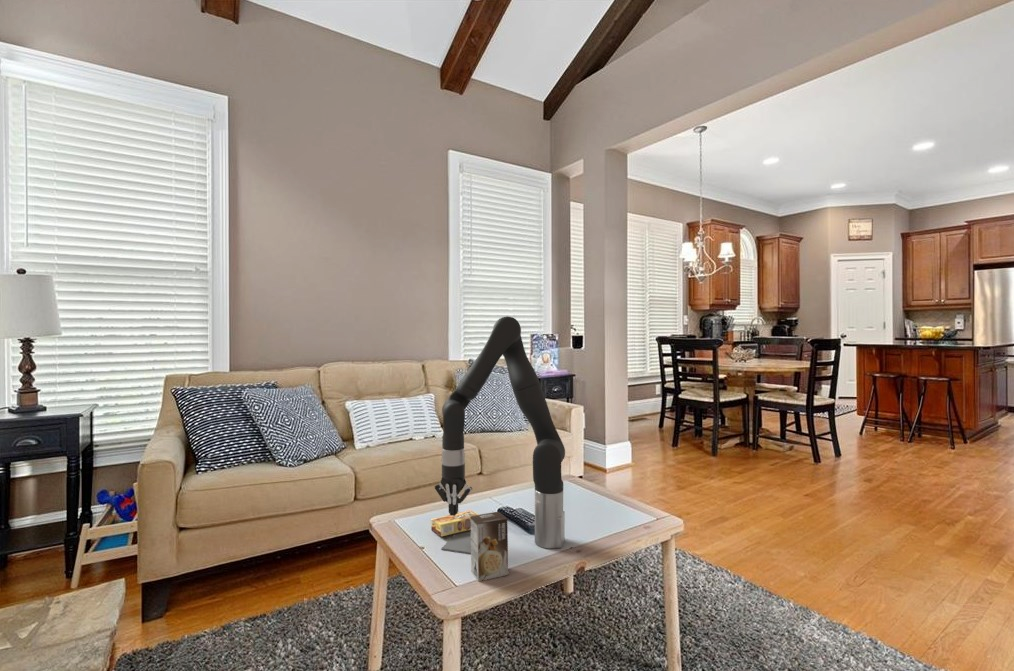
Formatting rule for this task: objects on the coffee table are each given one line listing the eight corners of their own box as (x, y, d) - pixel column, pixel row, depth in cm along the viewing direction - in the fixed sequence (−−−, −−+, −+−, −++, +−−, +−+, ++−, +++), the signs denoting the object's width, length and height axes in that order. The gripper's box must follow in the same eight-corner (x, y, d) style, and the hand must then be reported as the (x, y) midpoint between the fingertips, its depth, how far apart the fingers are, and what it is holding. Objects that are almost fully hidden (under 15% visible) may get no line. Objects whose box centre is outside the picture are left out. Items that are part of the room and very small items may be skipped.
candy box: (440, 537, 156) (482, 528, 164) (440, 523, 157) (482, 515, 164) (431, 530, 164) (471, 521, 172) (430, 517, 164) (471, 509, 172)
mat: (500, 537, 158) (500, 535, 158) (486, 556, 145) (486, 555, 145) (458, 531, 163) (458, 530, 163) (441, 549, 150) (441, 548, 150)
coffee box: (499, 565, 140) (499, 510, 140) (508, 575, 134) (508, 518, 134) (470, 571, 136) (470, 515, 136) (477, 582, 131) (477, 524, 130)
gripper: (476, 460, 157) (476, 512, 157) (439, 457, 161) (439, 508, 161) (467, 466, 150) (467, 521, 150) (429, 463, 154) (429, 516, 154)
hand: (453, 514), depth 156 cm, fingers closed
